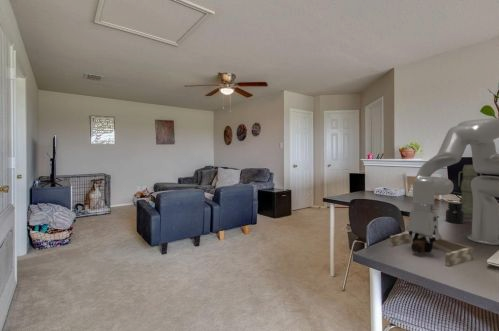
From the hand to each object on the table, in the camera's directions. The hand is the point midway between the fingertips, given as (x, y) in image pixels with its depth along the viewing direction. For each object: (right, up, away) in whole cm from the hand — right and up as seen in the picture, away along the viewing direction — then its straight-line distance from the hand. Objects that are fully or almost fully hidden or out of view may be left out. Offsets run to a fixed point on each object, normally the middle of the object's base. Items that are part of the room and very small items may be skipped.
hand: (422, 249), depth 110 cm
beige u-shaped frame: (+4, -2, +2) cm, 5 cm away
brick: (0, -1, 0) cm, 1 cm away
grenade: (+72, +1, +62) cm, 95 cm away
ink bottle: (+53, +1, +50) cm, 73 cm away
